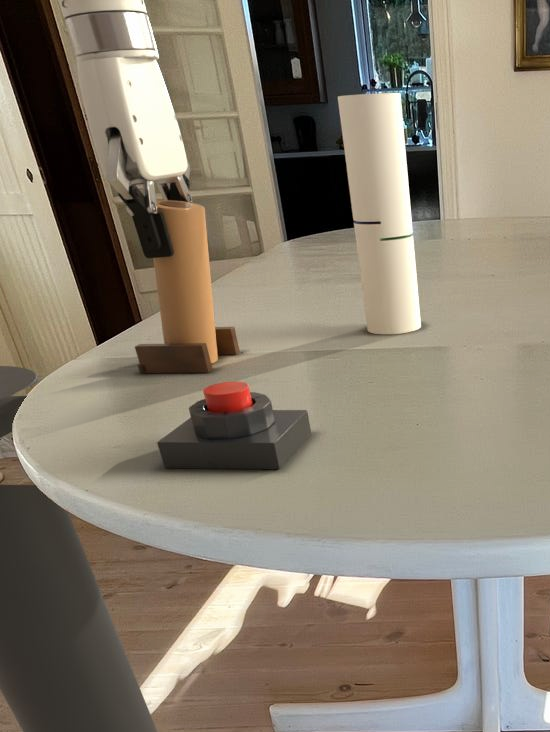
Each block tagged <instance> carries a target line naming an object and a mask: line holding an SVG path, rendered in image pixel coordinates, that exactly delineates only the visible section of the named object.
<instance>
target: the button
mask: <svg viewBox="0 0 550 732" xmlns="http://www.w3.org/2000/svg"><path fill="white" fill-rule="evenodd" d="M250 392H251V391H250V386H249V384H248V383H246V382H244V381H224V382H223V381H222V382H218V383H213V384H211V385H209V386H207V387H205V388H204V389H203V390H202V393H203V397H204V399H205V400H206V404H207V408H208V411H209V412H213V413H226V412H232V411H239V410H242V409H245V408H248V407H251V406H252V405H253V403H252V399H251V395H250Z"/></svg>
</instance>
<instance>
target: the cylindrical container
mask: <svg viewBox="0 0 550 732" xmlns="http://www.w3.org/2000/svg"><path fill="white" fill-rule="evenodd" d="M337 103H338V110H339V118H340V127H341V135H342V143H343V149H344V157H345V163H346V164H345V165H346V173H347V182H348V190H349V197H350V204H351V213H352V219H353V228H354V235H355V243H356V250H357V251H356V252H357V259H358V266H359V274H360V282H361V289H362V290H361V291H362V296H363V297H362V298H363V305H364V306H363V307H364V313H365V320H366V321H365V322H366V327H367V328H366V330H367V332H369V333H371V334H375V335H400V334H406V333H411V332H414V331H417V330H420V328H422V321H421V311H420V300H419V299H420V298H419V288H418V287H419V286H418V277H417V276H418V275H417V265H416V264H417V263H416V253H415V243H414V242H415V241H414V234H413V219H412V209H411V198H410V197H411V196H410V187H409V184H410V183H409V175H408V174H409V173H408V164H407V162H408V161H407V152H406V140H405V130H404V129H405V128H404V120H403V119H404V118H403V117H404V116H403V106H402V97H401V92H385V93H384V92H380V93H379V92H378V93H361V94H348V95H347V94H346V95H338V96H337Z"/></svg>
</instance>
